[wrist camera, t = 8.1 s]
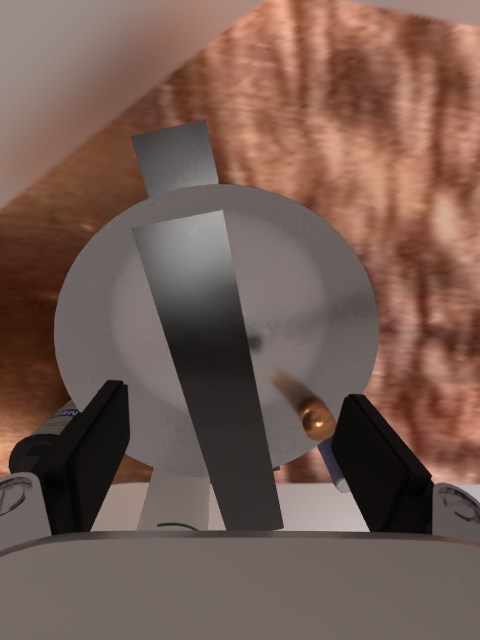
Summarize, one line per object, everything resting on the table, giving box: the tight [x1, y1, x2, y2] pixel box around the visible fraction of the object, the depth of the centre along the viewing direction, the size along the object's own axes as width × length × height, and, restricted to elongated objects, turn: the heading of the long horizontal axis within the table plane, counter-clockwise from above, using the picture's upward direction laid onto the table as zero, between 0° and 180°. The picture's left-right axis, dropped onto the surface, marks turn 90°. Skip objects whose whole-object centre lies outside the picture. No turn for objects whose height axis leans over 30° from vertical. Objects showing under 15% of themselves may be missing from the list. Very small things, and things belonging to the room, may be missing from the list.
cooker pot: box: [131, 120, 280, 471], centre depth 22 cm, size 18×26×12 cm
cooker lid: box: [54, 184, 379, 531], centre depth 14 cm, size 19×19×6 cm
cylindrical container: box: [137, 467, 210, 531], centre depth 23 cm, size 7×7×25 cm
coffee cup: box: [9, 399, 80, 474], centre depth 26 cm, size 7×7×10 cm
